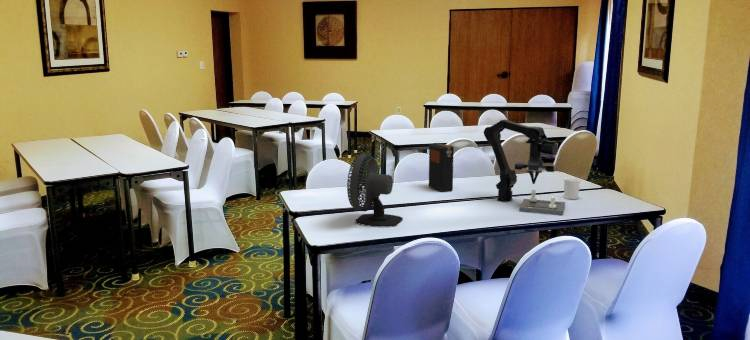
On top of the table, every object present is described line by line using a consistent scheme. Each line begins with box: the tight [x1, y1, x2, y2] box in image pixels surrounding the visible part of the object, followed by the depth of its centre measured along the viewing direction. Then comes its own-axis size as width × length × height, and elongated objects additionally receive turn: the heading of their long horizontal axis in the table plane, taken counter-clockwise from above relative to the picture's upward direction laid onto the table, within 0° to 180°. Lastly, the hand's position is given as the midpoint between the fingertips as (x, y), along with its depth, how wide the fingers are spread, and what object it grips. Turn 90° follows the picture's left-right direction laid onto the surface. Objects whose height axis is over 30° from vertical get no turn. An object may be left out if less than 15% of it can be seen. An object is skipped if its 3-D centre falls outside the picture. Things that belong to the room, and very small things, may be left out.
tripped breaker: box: [529, 189, 538, 202], centre depth 299 cm, size 3×4×5 cm
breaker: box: [549, 196, 556, 208], centre depth 286 cm, size 3×4×5 cm
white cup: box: [563, 177, 581, 200], centre depth 313 cm, size 8×8×10 cm
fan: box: [346, 154, 404, 227], centre depth 271 cm, size 26×26×30 cm
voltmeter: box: [428, 142, 455, 193], centre depth 332 cm, size 16×9×25 cm, turn 25°
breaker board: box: [518, 198, 566, 216], centre depth 293 cm, size 20×18×2 cm
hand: (533, 184), depth 298 cm, fingers closed
